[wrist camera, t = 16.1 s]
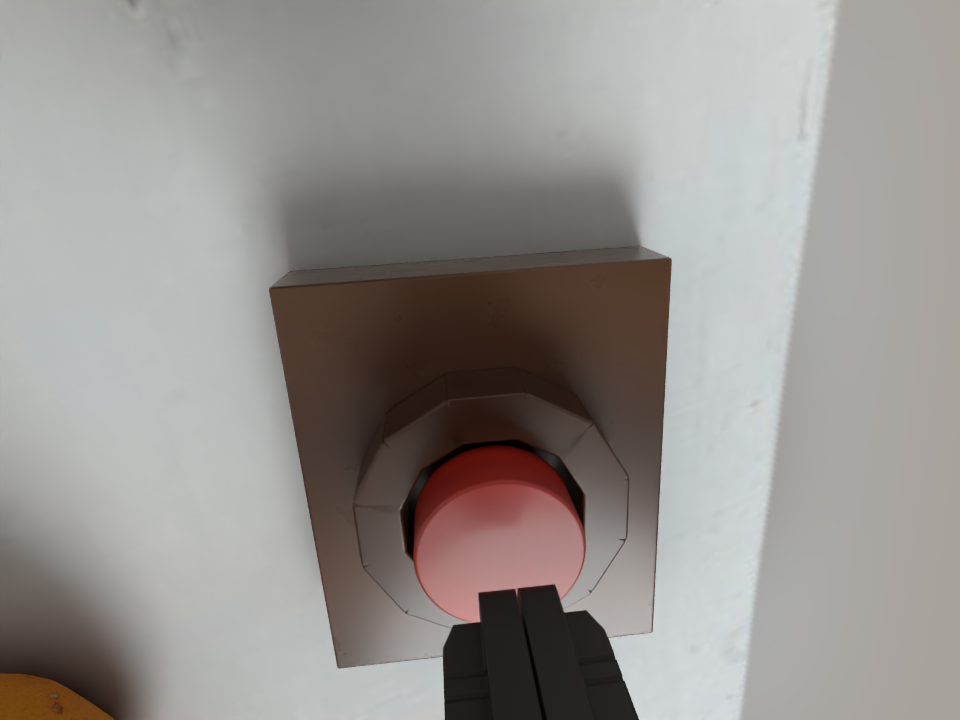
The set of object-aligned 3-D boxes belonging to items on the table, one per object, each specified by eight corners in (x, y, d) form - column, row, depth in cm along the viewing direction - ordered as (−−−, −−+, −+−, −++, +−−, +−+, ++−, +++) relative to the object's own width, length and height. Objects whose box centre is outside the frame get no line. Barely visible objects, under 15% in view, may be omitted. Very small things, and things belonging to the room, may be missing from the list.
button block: (630, 585, 21) (676, 681, 17) (346, 616, 20) (327, 723, 16) (642, 245, 17) (704, 270, 13) (288, 270, 16) (245, 305, 12)
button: (570, 569, 16) (586, 617, 14) (422, 585, 15) (421, 635, 14) (569, 436, 14) (587, 472, 13) (407, 451, 14) (404, 490, 12)
